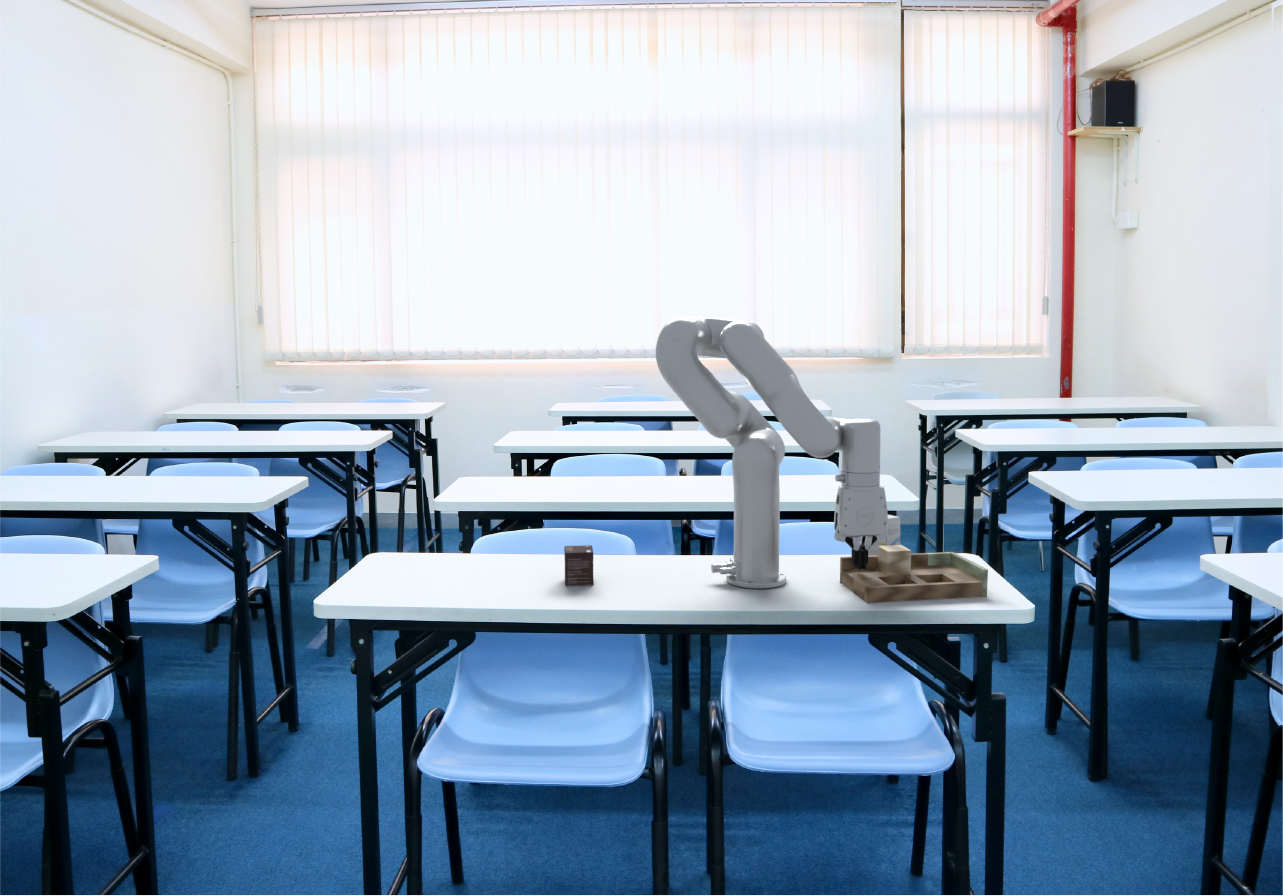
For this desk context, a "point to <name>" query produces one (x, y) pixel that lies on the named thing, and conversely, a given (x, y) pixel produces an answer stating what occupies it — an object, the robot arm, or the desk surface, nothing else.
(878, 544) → the ink box
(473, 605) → the desk surface
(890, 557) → the beech block
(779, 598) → the desk surface
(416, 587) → the desk surface
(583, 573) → the box
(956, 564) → the tray
